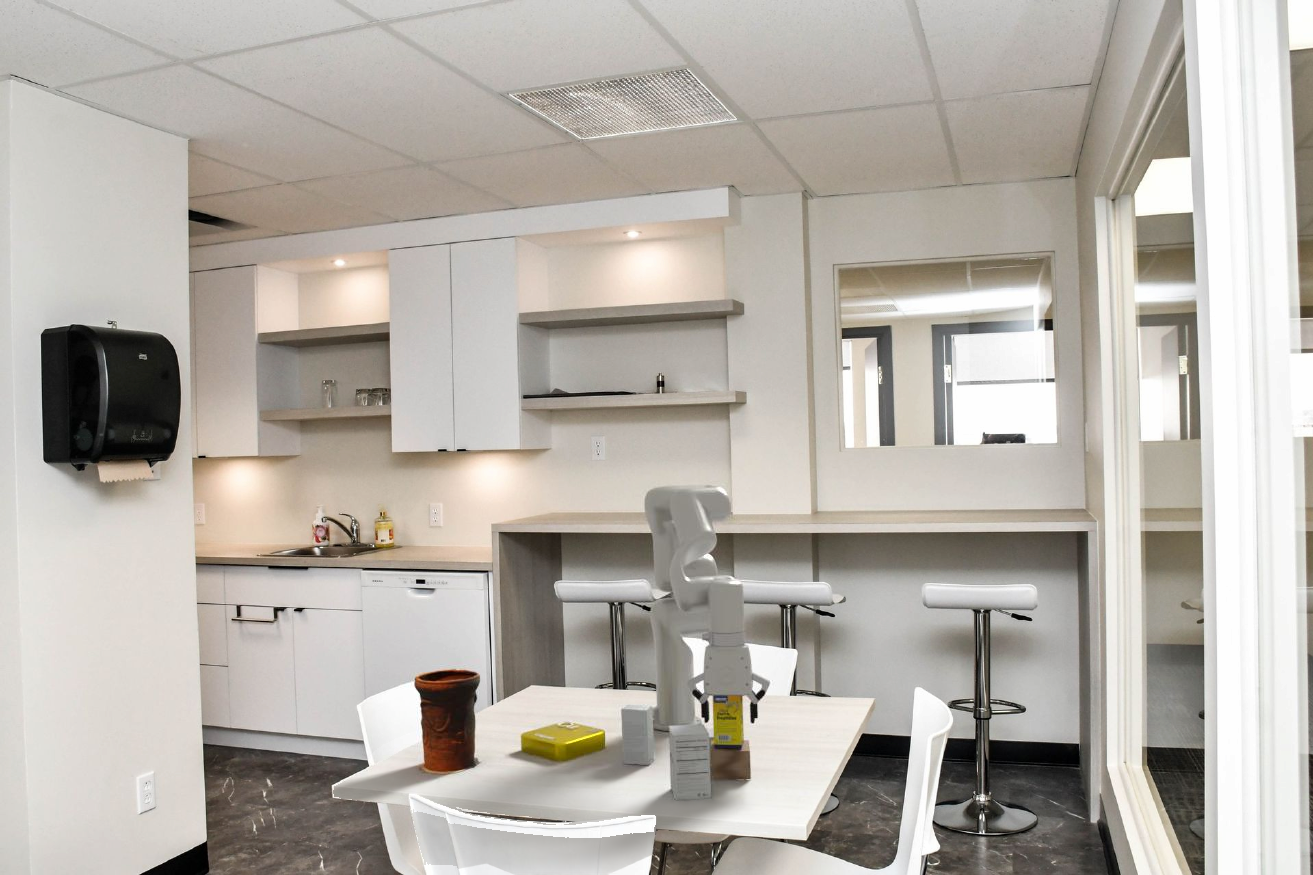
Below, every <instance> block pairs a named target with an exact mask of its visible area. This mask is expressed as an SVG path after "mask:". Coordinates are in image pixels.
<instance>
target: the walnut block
mask: <svg viewBox="0 0 1313 875" xmlns="http://www.w3.org/2000/svg"><path fill="white" fill-rule="evenodd" d="M750 748H751V747H750V742H749V739H746V740H744V742H743V744H742V748H741V749H738V748H714V741H711V765H710V771H711V781H739V780H738V779H744V780H745V781H746V779H751V780H752V777H751V776H752V772H751V770H752V769H751V749H750ZM744 780H743V781H744Z"/></svg>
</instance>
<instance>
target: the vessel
mask: <svg viewBox="0 0 1313 875" xmlns="http://www.w3.org/2000/svg"><path fill="white" fill-rule="evenodd" d="M480 682H481V674H480V673H478V672H477V671H472V670H467V669H458V668H457V669H456V668H449V669H442V670H435V671H427V672H423V673H419V674H418V675H416V676H415V677H414V683H413V684H414V685H413V686H414V688H415V690H416V691H417V692H418V694H419V699H420V703H419V707H420V713H421V720H420V725H421V731H422V733H421V735H422V736H421V739H422V749H423V762H422V763H420V764H419V769H421V772H424V773H429V774H434V775H435V774H436V775H437V774H439V775H449V774H450V775H451V774H453V773H459V772H463V771H467V770H468V769H471V768H472V769H473V768H475V767H476V766H478V765H479V764H481V761H479V758H478V757H475V753H476V714H475V705H476V703H477V700H478V695H477V689H478V687H479V686H480Z"/></svg>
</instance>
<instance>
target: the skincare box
mask: <svg viewBox="0 0 1313 875" xmlns="http://www.w3.org/2000/svg"><path fill="white" fill-rule="evenodd" d="M652 708H653V706H652V705H639V704H638V705H637V704H627V705H625V706H624V707H622V708H621V710H620V713H621V732H622V733H621V736H622V737H621V738H622V739H621V740H622V763H623V765H624V764H625V765H636V764H637V765H639V766H649V765H651V763H653V762H654V761H655V744H654V743H655V741H654V728H653V714H652Z"/></svg>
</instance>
